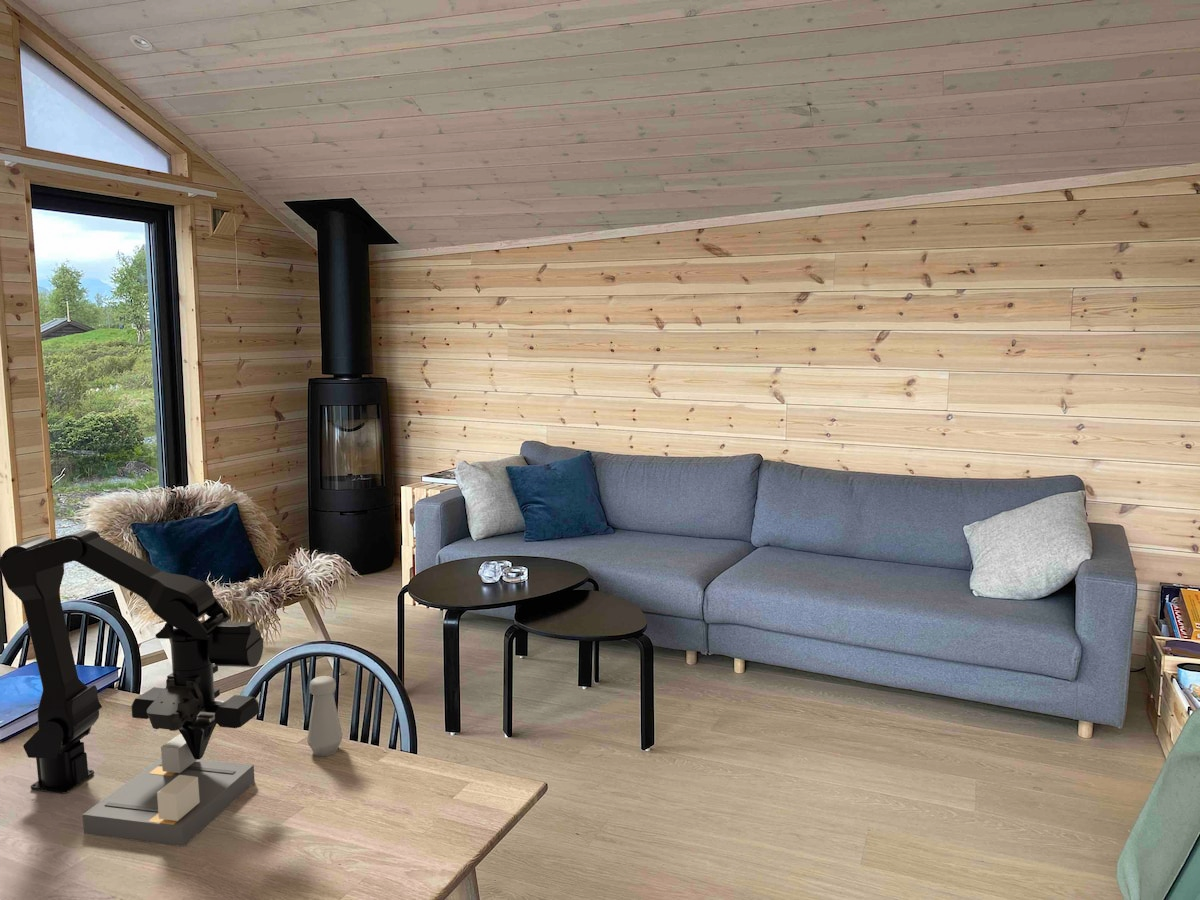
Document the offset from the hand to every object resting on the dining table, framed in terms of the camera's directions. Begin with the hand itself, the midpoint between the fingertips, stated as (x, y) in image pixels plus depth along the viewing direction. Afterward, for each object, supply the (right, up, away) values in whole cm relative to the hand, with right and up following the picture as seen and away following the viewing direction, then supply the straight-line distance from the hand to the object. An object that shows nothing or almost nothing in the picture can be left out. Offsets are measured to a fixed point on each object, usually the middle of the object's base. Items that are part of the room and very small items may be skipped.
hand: (198, 758), depth 145 cm
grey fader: (-3, -1, +1) cm, 3 cm away
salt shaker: (+16, -3, +13) cm, 21 cm away
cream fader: (+3, -3, -12) cm, 13 cm away
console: (-2, -6, -5) cm, 8 cm away
